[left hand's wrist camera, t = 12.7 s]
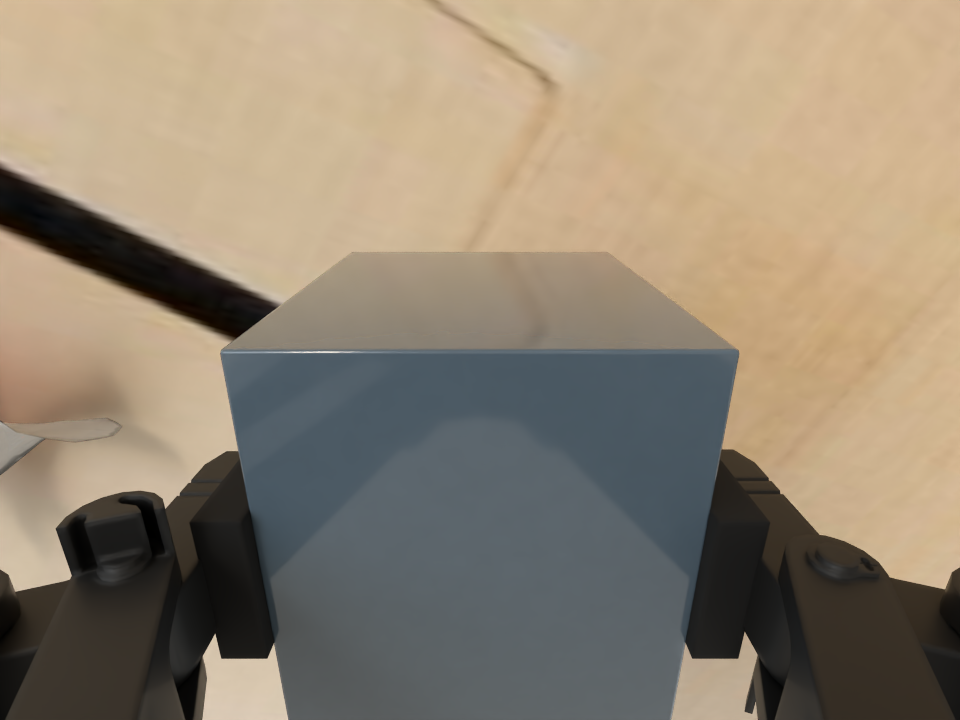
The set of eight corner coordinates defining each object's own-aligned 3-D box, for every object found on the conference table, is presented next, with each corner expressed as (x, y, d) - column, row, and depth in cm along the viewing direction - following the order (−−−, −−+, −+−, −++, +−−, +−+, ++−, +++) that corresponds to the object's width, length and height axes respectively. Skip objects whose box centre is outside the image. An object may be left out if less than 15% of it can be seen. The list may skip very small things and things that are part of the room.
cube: (609, 251, 14) (742, 349, 7) (587, 498, 17) (667, 750, 10) (350, 252, 14) (217, 350, 7) (372, 498, 17) (292, 750, 10)
